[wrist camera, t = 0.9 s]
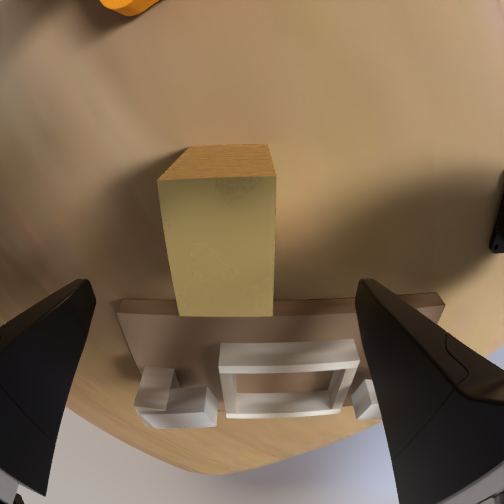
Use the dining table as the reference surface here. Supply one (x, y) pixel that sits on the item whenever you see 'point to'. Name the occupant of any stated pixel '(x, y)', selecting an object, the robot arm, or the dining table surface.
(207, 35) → the dining table surface
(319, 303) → the coupling base
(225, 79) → the dining table surface
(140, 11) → the bracket
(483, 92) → the dining table surface
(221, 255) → the tan rectangular block
